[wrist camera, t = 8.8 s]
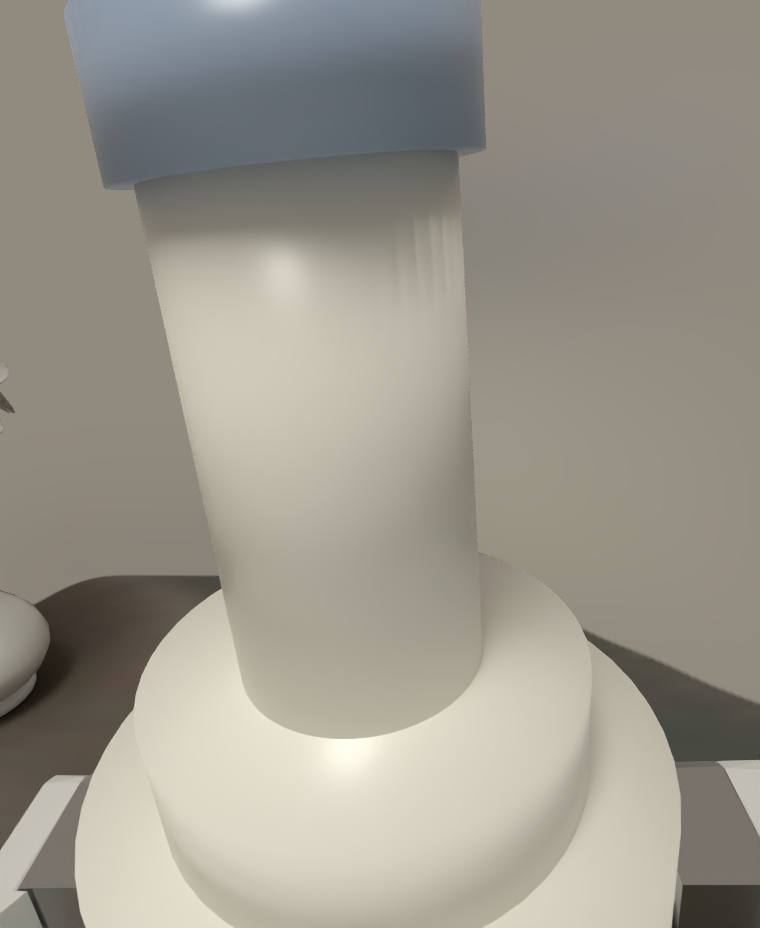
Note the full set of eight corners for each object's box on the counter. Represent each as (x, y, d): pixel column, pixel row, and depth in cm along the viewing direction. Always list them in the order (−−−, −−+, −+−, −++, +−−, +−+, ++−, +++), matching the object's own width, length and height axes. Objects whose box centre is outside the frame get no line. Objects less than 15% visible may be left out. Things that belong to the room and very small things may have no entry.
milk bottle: (581, 1063, 14) (607, 49, 7) (684, 1634, 8) (1263, -475, 2) (303, 1058, 15) (78, 113, 8) (229, 1590, 9) (-819, -100, 2)
